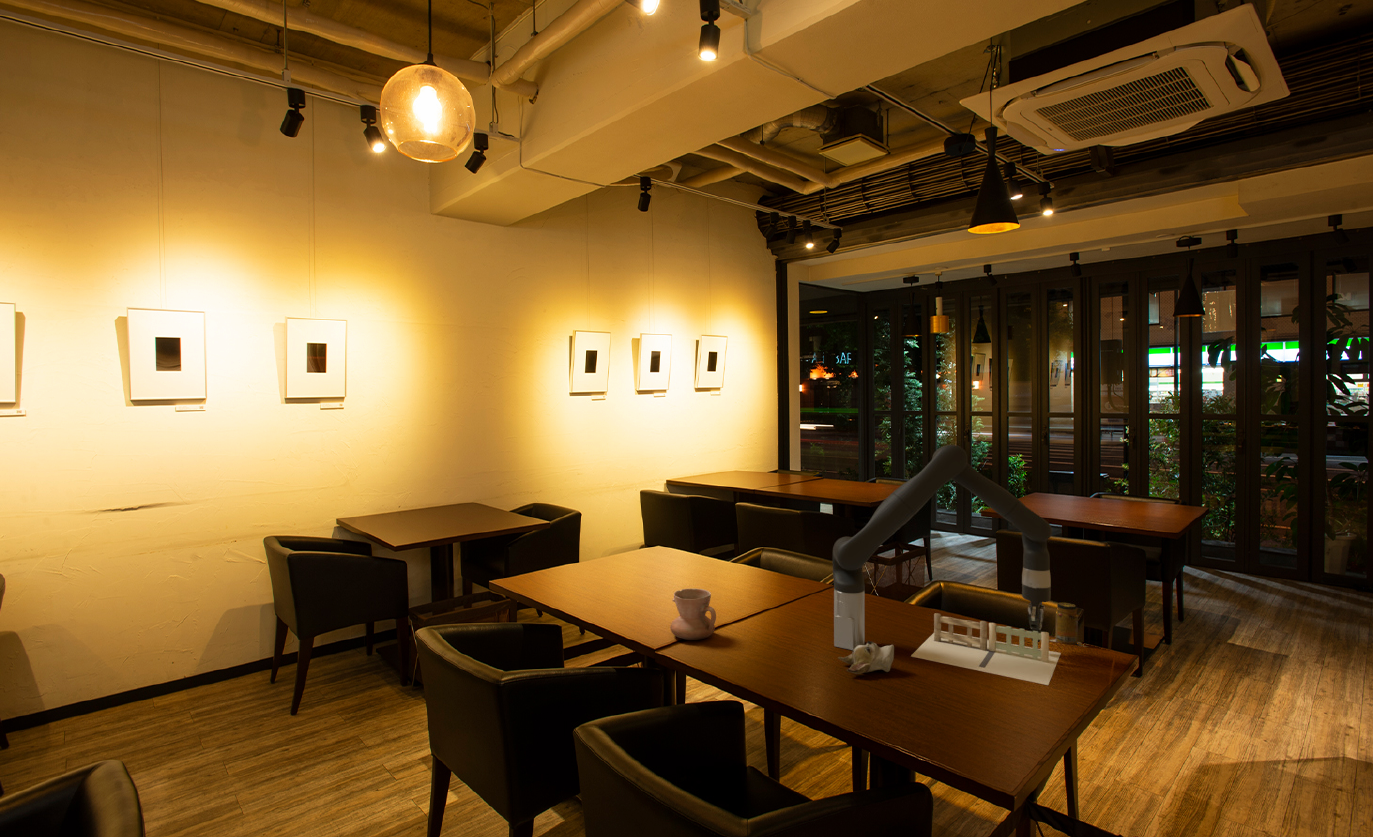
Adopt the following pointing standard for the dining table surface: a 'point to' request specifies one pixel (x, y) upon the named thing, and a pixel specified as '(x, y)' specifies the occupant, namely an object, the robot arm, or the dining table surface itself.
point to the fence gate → (1020, 641)
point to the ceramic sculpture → (869, 658)
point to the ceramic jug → (693, 614)
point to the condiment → (1067, 624)
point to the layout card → (989, 659)
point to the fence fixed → (953, 637)
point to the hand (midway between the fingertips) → (1036, 641)
